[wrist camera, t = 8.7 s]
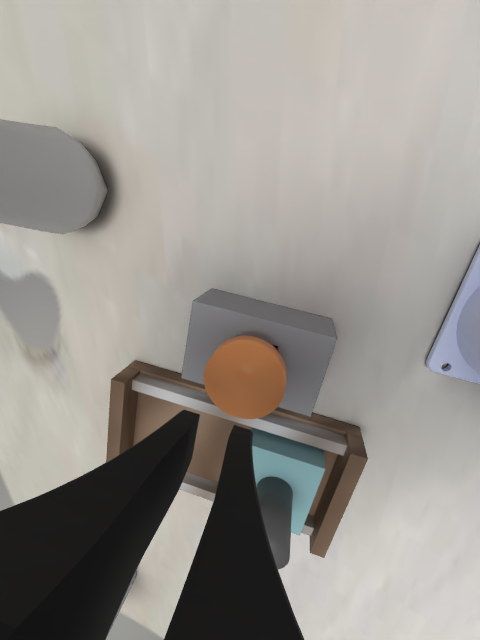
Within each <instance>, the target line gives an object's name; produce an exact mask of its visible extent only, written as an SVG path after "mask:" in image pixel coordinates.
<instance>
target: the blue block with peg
mask: <svg viewBox="0 0 480 640" xmlns="http://www.w3.org/2000/svg"><path fill="white" fill-rule="evenodd" d="M251 431H252V433H253V439H252V454H253V466H254V474H255V481H256V487H257V493H258V498H259V503H260V508H261V513H262V517H263V521H264V525H265V529H266V533H267V536H268V540H269V543H270V547H271V550H272V553H273V556H274V560H275V563H276V566H277V569H281V568H283V567H285V566H286V565H287V564H288V562H289V556H290V538H291V532H292V533H295V534H297V535H300V534H301V531H302V528H303V526H304V523H305V521H306V518H307V515H308V513H309V510H310V508H311V505H312V502H313V500H314V497H315V495H316V492H317V489H318V487H319V484H320V482H321V479H322V476H323V474H324V471H325V458H324V450H323V449H320V448H317V447H314V446H311V445H307V444H304V443H301V442H298V441H295V440H291V439H288V438H285V437H282V436H279V435H275V434H272V433H269V432H266V431H263V430H259V429H256V428H253V427H252V429H251Z"/></svg>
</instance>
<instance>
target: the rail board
mask: <svg viewBox="0 0 480 640" xmlns="http://www.w3.org/2000/svg"><path fill="white" fill-rule="evenodd" d="M181 376H182V374H179V373H176V372H172V371H169V370H166V369H162V368H159V367H156V366H152V365H149V364H146V363H142V362H139V361H134V362H133V363H131V364H130V365H129V366H127V367H126V368H125V369H124V370H122V371H121V372H120V373H118V374H117V375H116V376H115V377H113V378H112V379H111V391H110V408H109V425H108V442H107V459H106V462H108V461H110V460H112V459H113V458H115V457H116V456H118V455H120V454H121V453H123V452H124V451H126V450H128V449H129V448H131V447H132V446H134V445H135V444H137V443H138V442H140V441H141V440H143V439H144V438H146V437H147V436H148V435H150V434H151V433H153V432H154V431H156V430H157V429H158V428H160V427H161V426H162V425H164V424H165V423H166V422H168V421H169V420H170V419H171V418H173V417H174V416H175V415H177V414H178V413H179V412H180V411H182V410H187V411H191V412H194V413H197V414H200V418H199V423H198V429H197V434H196V439H195V445H194V450H193V456H192V460H191V462H190V465H189V467H188V470H187V472H186V475H185V477H184V479H183V482H182V484H181V487H180V490H183V491H185V492H188V493H191V494H194V495H197V496H200V497H202V498H205V499H208V500H211V501H214V498H215V494H216V490H217V485H218V481H219V477H220V472H221V468H222V464H223V459H224V455H225V451H226V446H227V442H228V438H229V435H230V433H231V430H232V428H233V426H234V425H236V426H240V427H243V428H246V429H249V430H251V429H252V427H253V428H256V429H259V430H263V431H266V432H269V433H272V434H275V435H279V436H282V437H285V438H288V439H291V440H295V441H298V442H301V443H304V444H307V445H311V446H314V447H317V448H320V449H323V450H324V458H325V471H324V474H323V476H322V479H321V482H320V484H319V487H318V489H317V492H316V495H315V497H314V500H313V502H312V505H311V508H310V510H309V513H308V515H307V518H306V521H305V523H304V526H303V528H302V531H301V533H304V534H307V535H310V553H312V554H315V555H318V556H320V557H323V558H324V557H325V555H326V552H327V550H328V548H329V546H330V543H331V541H332V539H333V537H334V534H335V532H336V530H337V528H338V525H339V523H340V521H341V519H342V516H343V514H344V512H345V509H346V507H347V505H348V503H349V500H350V498H351V496H352V494H353V491H354V489H355V487H356V485H357V482H358V480H359V478H360V476H361V473H362V471H363V469H364V467H365V464H366V462H367V460H368V457H367V454H366V450H365V446H364V442H363V438H362V434H361V431H360V427H357V426H354V425H351V424H347V423H344V422H340V421H337V420H334V419H330V418H327V417H324V416H320V415H317V414H314V413H312V414H311V417H310V416H307V415H303V414H300V413H297V412H293V411H290V410H287V409H283V408H280V407H277V408H276V409H275V410H274V411H273V412H271V413H270V414H268V415H266V416H264V417H261V418H256V419H242V418H237V417H234V416H231V415H229V414H227V413H225V412H224V411H222V410H221V409H219V408H218V407H217V406H216V405H215V404H214V403H213V402H212V400H211V399H210V397H209V396H208V394H207V391H206V389H205V385H203V384H200V383H196V382H193V381H190V380H186V379H183V378H181Z"/></svg>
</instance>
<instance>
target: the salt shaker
mask: <svg viewBox="0 0 480 640" xmlns="http://www.w3.org/2000/svg"><path fill="white" fill-rule="evenodd" d="M107 192H108V190H107V187H106V185H105V182H104V180H103V177H102V174H101V172H100V169H99V167H98V164H97V162H96V161H95V159H94V158H93V157H92V156H91V155H90V153H89V152H88V151H87V150H86V149H85V148H84V146H83V145H82V144H80V143H79V142H78V141H76V140H75V139H73V138H72V137H70V136H69V135H67V134H66V133H65V132H63V131H62V130H60V129H58V128H57V127H49V126H41V125H34V124H26V123H20V122H14V121H7V120H1V119H0V223H4V224H9V225H14V226H19V227H24V228H29V229H34V230H39V231H45V232H51V233H58V234H65V233H69V232H71V231H74V230H77V229H79V228H82V227H85V226H86V225H87V224H88V223H90V222H91V221H92V220H93V219H95V218H96V217H97V216H98V214H99V211H100V209H101V207H102V204H103V202H104V200H105V197H106V195H107Z"/></svg>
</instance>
